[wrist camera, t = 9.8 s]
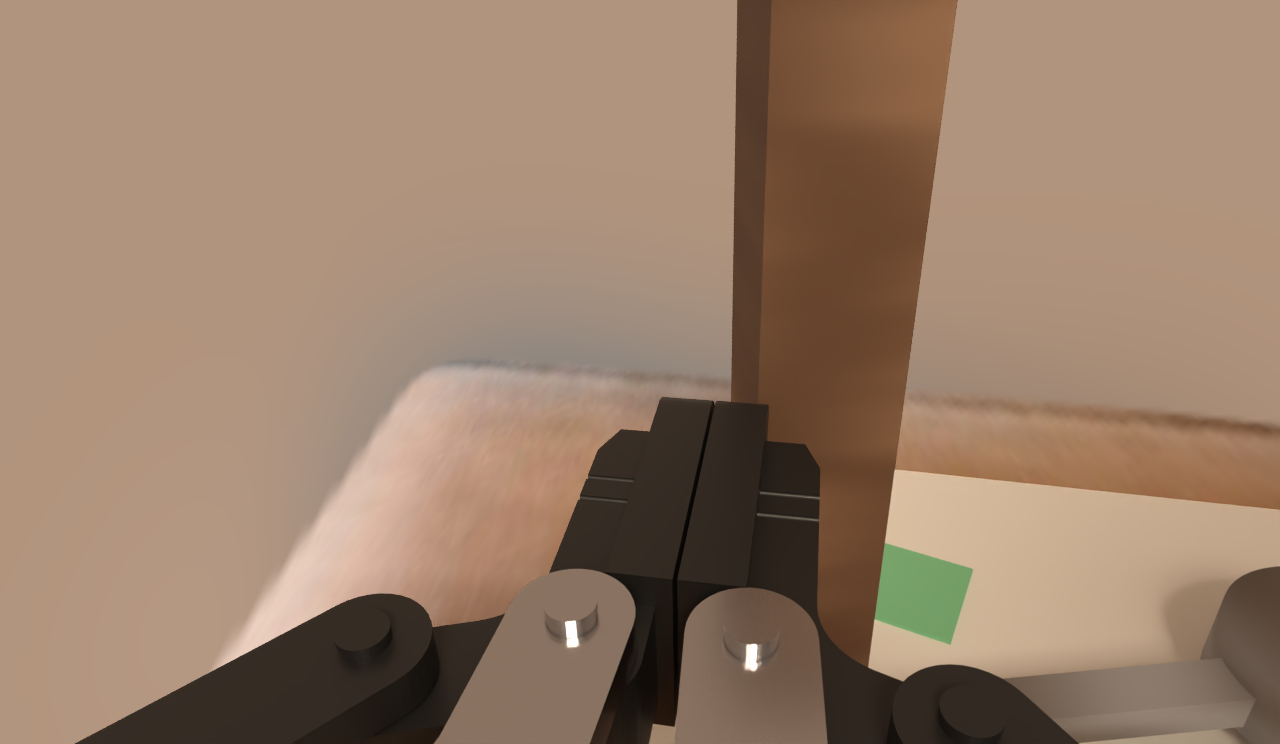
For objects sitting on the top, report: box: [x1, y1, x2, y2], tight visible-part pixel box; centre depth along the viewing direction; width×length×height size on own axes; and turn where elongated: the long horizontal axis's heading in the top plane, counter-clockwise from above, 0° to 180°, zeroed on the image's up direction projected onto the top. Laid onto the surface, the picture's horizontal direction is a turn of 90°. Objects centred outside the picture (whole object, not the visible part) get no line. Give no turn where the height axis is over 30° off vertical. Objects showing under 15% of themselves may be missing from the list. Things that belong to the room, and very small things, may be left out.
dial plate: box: [649, 470, 1280, 744], centre depth 19 cm, size 20×16×2 cm
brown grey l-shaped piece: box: [731, 0, 1280, 744], centre depth 14 cm, size 15×4×16 cm, turn 95°
